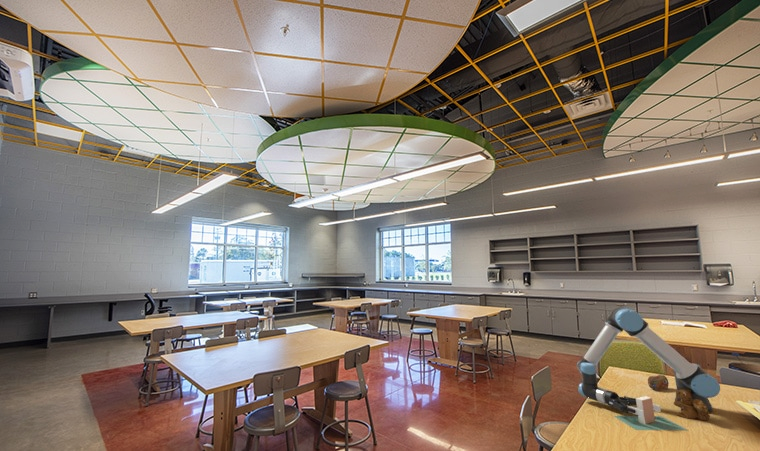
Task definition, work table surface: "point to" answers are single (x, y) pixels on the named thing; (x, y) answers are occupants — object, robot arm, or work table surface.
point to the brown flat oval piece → (658, 382)
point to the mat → (658, 424)
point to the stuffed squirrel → (691, 406)
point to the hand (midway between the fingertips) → (652, 411)
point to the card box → (645, 409)
